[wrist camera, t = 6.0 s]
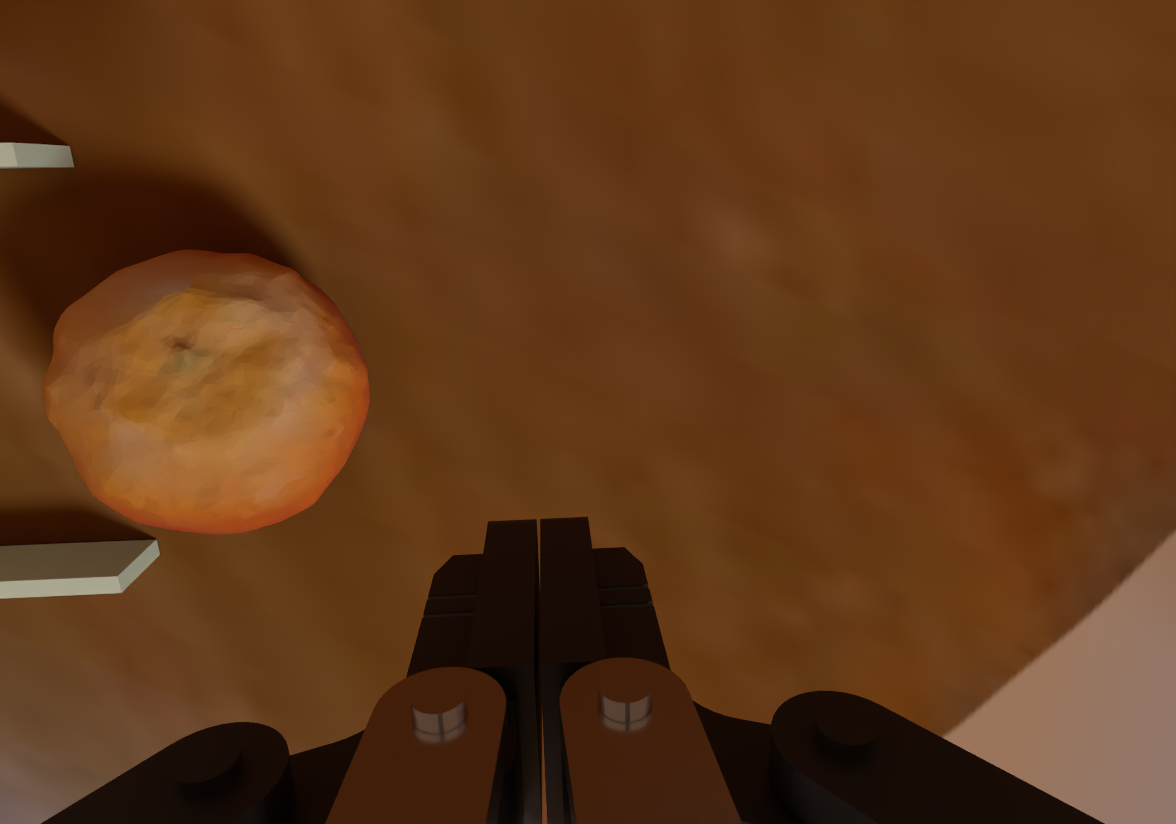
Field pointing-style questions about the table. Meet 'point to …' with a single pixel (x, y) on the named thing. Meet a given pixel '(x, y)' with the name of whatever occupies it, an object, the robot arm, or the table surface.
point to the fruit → (206, 391)
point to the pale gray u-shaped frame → (66, 562)
